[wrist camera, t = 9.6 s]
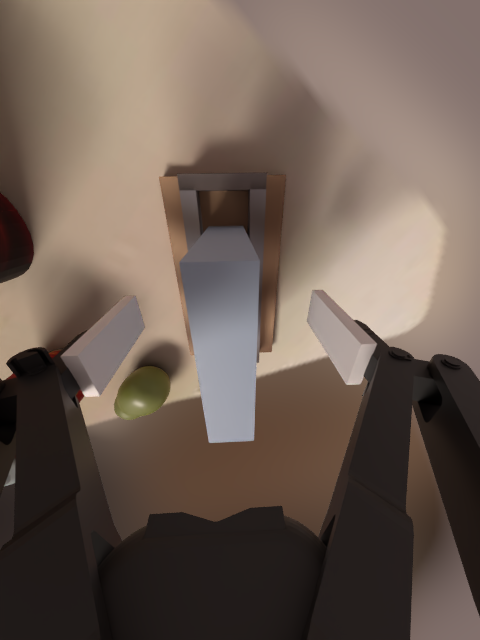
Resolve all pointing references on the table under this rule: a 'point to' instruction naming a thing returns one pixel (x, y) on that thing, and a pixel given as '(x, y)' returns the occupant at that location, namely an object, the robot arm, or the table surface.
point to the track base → (229, 210)
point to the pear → (142, 393)
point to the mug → (13, 242)
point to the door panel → (224, 328)
